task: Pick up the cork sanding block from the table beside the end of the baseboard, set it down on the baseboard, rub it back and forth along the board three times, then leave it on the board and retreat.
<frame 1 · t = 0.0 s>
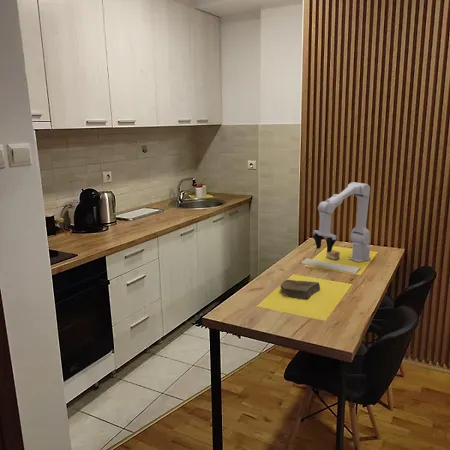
hand: (323, 250, 222), 10 cm above the table, tool pointing down, fingers open, 7 cm apart
baseboard: (329, 268, 227), on the table
sanding block: (332, 258, 241), on the table
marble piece: (299, 293, 193), on the table
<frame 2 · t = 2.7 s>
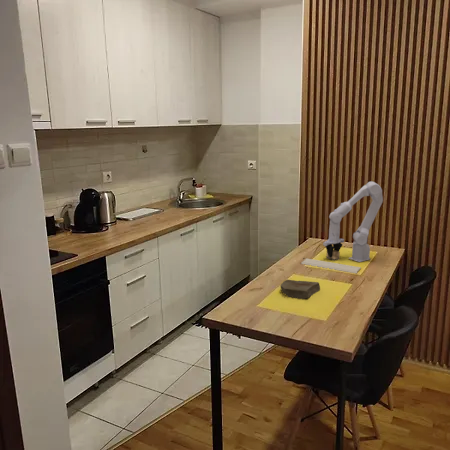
hand: (332, 256, 241), 1 cm above the table, tool pointing down, fingers closed on sanding block, 4 cm apart
sanding block: (332, 258, 241), on the table, touching gripper
everything else where it was.
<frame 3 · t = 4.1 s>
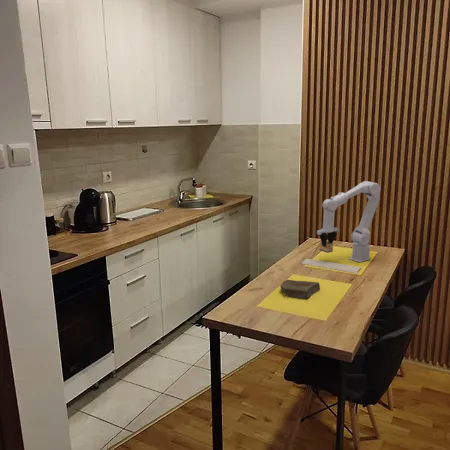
hand: (327, 245, 232), 10 cm above the table, tool pointing down, fingers closed on sanding block, 4 cm apart
sanding block: (326, 250, 233), point 6 cm above the table, touching gripper
everything else where it was.
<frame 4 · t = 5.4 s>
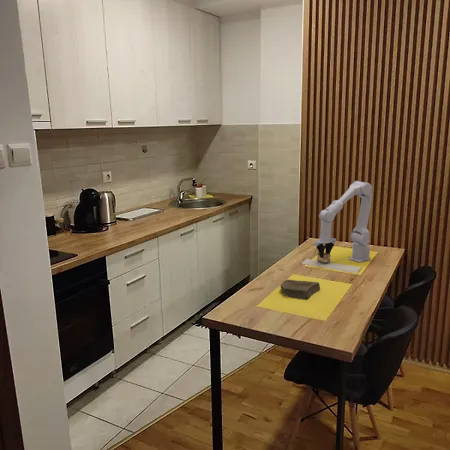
hand: (324, 256, 231), 4 cm above the table, tool pointing down, fingers closed on sanding block, 4 cm apart
baseboard: (330, 268, 227), on the table, touching sanding block
sanding block: (323, 261, 232), point 1 cm above the table, touching baseboard, gripper
everything else where it was.
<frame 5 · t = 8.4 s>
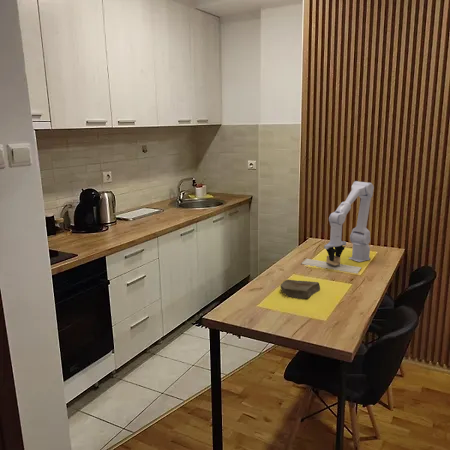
hand: (334, 260, 225), 4 cm above the table, tool pointing down, fingers closed on sanding block, 4 cm apart
baseboard: (330, 268, 227), on the table
sanding block: (333, 264, 226), point 1 cm above the table, touching gripper
everything else where it was.
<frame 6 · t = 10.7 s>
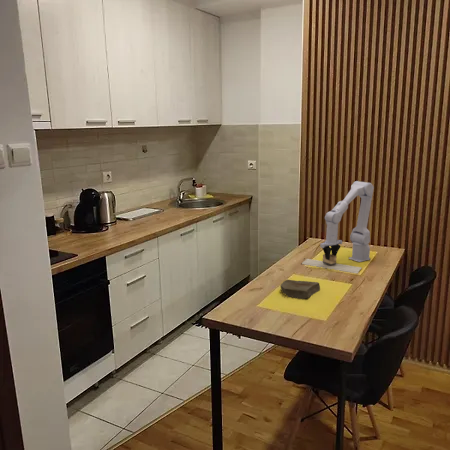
hand: (330, 258, 227), 4 cm above the table, tool pointing down, fingers closed on sanding block, 4 cm apart
sanding block: (329, 263, 228), point 1 cm above the table, touching gripper
everything else where it was.
when the fingers open (4 cm above the table, at t = 12.7 s): sanding block stays where it is, resting on baseboard.
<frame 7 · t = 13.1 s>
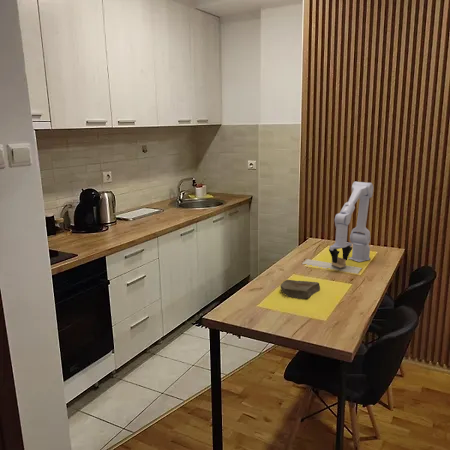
hand: (339, 261, 222), 4 cm above the table, tool pointing down, fingers open, 7 cm apart
baseboard: (330, 268, 227), on the table, touching sanding block
sanding block: (338, 266, 223), point 1 cm above the table, touching baseboard
everything else where it was.
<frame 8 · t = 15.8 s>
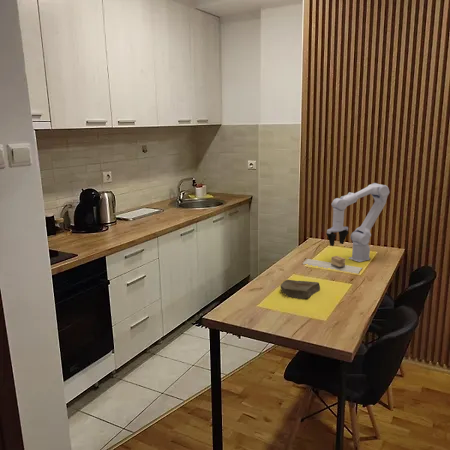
hand: (336, 244, 233), 10 cm above the table, tool pointing down, fingers open, 7 cm apart
sanding block: (337, 266, 225), point 1 cm above the table, touching baseboard
everything else where it was.
at the end: sanding block inside the target area on the baseboard (3.5 cm from its centre), point 2.1 cm above the baseboard's base; sanding block touching baseboard; baseboard moved 1.4 cm from its start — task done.
